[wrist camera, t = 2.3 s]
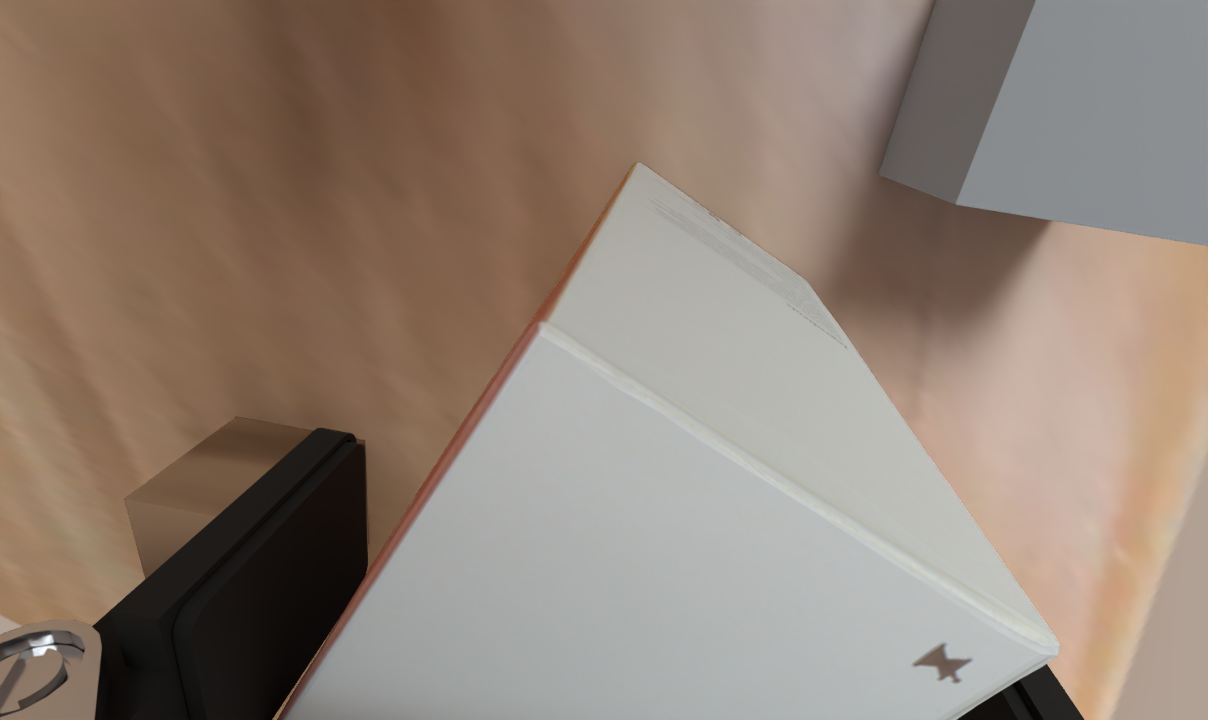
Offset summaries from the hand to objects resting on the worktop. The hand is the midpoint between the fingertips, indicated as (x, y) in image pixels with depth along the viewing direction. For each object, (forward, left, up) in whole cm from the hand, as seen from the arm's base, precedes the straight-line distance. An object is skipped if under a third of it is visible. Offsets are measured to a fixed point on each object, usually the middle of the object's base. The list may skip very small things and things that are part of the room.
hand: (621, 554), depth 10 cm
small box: (-1, 0, -10) cm, 10 cm away
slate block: (-9, +8, -10) cm, 15 cm away
